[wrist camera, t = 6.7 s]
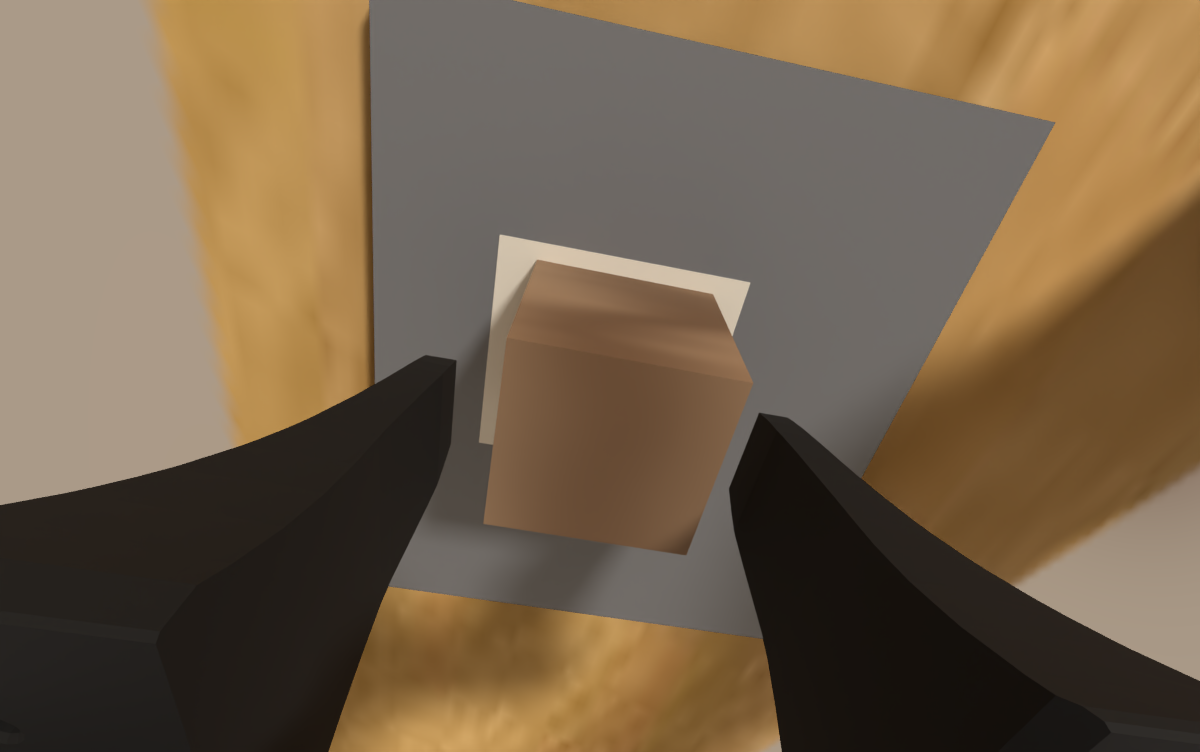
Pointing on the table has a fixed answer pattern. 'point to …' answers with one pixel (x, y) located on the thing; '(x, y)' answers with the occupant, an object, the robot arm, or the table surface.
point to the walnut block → (613, 409)
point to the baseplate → (660, 253)
